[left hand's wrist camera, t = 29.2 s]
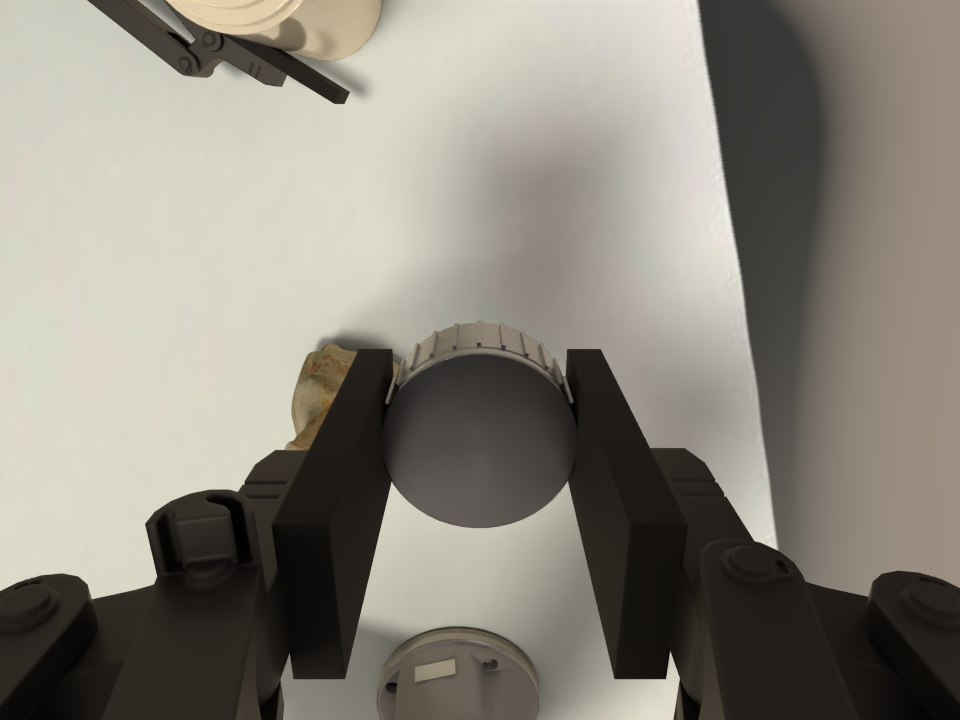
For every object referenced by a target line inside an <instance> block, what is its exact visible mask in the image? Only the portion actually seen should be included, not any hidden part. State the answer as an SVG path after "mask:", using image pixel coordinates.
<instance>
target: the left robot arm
mask: <svg viewBox="0 0 960 720" xmlns="http://www.w3.org/2000/svg"><path fill="white" fill-rule="evenodd" d="M393 377H394V371H393V352H392V349H359V350H358V352H357V354H356V356H355V358H354V360H353V362H352V364H351V366H350V368H349V370H348V372H347V374H346V376H345V378H344V380H343V382H342V384H341V386H340V388H339V390H338V392H337V394H336V396H335V398H334V400H333V402H332V404H331V406H330V408H329V410H328V412H327V414H326V416H325V418H324V420H323V422H322V424H321V426H320V428H319V430H318V432H317V434H316V436H315V438H314V440H313V442H312V444H311V446H310V448H309V450H275V451H274V452H272V453H271V454H269V455H268V456H267V457H265V458H264V459H262V460H261V461H260V462H258V463H257V464H255V466H254V467H253V469H252V471H251V472H250V474H249V475H248V477H247V479H246V480H245V485H242V487H241V488H240V490H239V491H238V492H236V491H232V490H206V491H201V492H196V493H191V494H188V495H185V496H183V497H180V498H178V499H175V500H173V501H170V502H169V503H167V504H166V505H164V506H163V507H161V508H160V509H158V510H157V511H155V512H154V514H153V515H152V516H151V517H150V519H149V520H148V521H147V522H146V524H145V525H146V530H147V534H148V538H149V543H150V547H151V551H152V556H153V560H154V564H155V568H156V573H157V578H156V581H155V584H154V585H151V586H148V587H144V588H141V589H137V590H133V591H128V592H124V593H119V594H115V595H110V596H105V597H101V598H96V599H91V595H90V592H89V588H88V585H87V584H86V583H85V582H84V581H83V580H82V579H81V578H79V577H78V576H73V575H67V574H52V575H42V576H38V577H34V578H31V579H27V580H24V581H21V582H18V583H16V584H14V585H12V586H10V587H8V588H6V589H4V590H2V591H0V720H283V712H284V701H283V694H282V688H281V681H280V679H281V676H282V673H283V670H284V667H285V664H286V662H287V659H288V656H289V653H290V658H291V665H292V671H293V678H294V679H345V677H346V673H347V668H348V664H349V660H350V656H351V651H352V647H353V643H354V639H355V634H356V630H357V626H358V622H359V617H360V613H361V609H362V605H363V600H364V596H365V592H366V588H367V583H368V579H369V575H370V571H371V567H372V562H373V558H374V554H375V550H376V545H377V541H378V537H379V533H380V528H381V524H382V520H383V516H384V511H385V507H386V503H387V499H388V494H389V490H390V486H391V482H392V481H391V479H390V477H389V475H388V473H387V471H386V468H385V466H384V455H383V440H382V421H383V417H384V414H385V410H386V407H385V406H384V404H385V401H386V398H387V395H388V391H389V388H390V385H391V382H392V379H393ZM566 379H567V382H568V385H569V388H570V391H571V395H572V398H573V401H574V404H575V405H574V406H572V407H573V411H574V414H575V417H576V421H577V425H578V432H577V449H576V462H575V466H574V468H573V471H572V473H571V475H570V477H569V479H568V483H569V488H570V492H571V496H572V500H573V505H574V509H575V513H576V517H577V521H578V526H579V530H580V534H581V538H582V543H583V547H584V551H585V555H586V560H587V564H588V568H589V572H590V577H591V581H592V585H593V589H594V594H595V598H596V602H597V606H598V611H599V615H600V619H601V623H602V628H603V632H604V636H605V640H606V645H607V649H608V653H609V657H610V662H611V666H612V670H613V674H614V679H666V676H667V669H668V662H669V655H670V651H671V654H672V657H673V660H674V662H675V665H676V668H677V671H678V674H679V677H680V681H679V688H678V694H677V701H676V707H675V713H674V720H960V588H958V587H956V586H954V585H952V584H950V583H948V582H946V581H944V580H942V579H939V578H936V577H932V576H929V575H925V574H922V573H916V572H905V571H894V572H889V573H884V574H881V575H880V576H879V577H878V578H877V579H875V580H874V581H873V583H872V586H871V590H870V593H869V597H867V596H862V595H857V594H853V593H848V592H844V591H839V590H834V589H829V588H825V587H821V586H818V585H814V584H811V583H808V582H805V580H804V578H803V575H802V574H801V572H800V571H799V569H798V568H797V566H796V565H795V563H794V562H792V561H791V560H790V559H789V558H787V557H786V556H785V555H783V554H782V553H781V552H779V551H778V550H775V549H773V548H771V547H769V546H766V545H764V544H762V543H759V542H755V541H754V540H753V538H752V537H751V535H750V533H749V532H748V530H747V529H746V527H745V526H744V524H743V522H742V521H741V519H740V518H739V516H738V515H737V513H736V511H735V510H734V508H733V507H732V505H731V503H730V502H729V500H728V499H727V497H724V492H723V491H722V489H721V488H720V486H719V485H718V483H715V478H714V477H713V475H712V473H711V472H710V470H709V469H708V467H707V466H706V464H705V463H704V462H703V461H702V460H700V459H699V458H697V457H696V456H695V455H693V454H692V453H690V452H689V451H688V450H686V449H685V448H650V447H649V445H648V443H647V441H646V439H645V437H644V435H643V433H642V431H641V429H640V427H639V425H638V423H637V421H636V419H635V417H634V415H633V413H632V411H631V409H630V407H629V405H628V403H627V401H626V399H625V397H624V395H623V393H622V391H621V389H620V387H619V385H618V383H617V381H616V379H615V377H614V375H613V373H612V371H611V369H610V367H609V365H608V363H607V361H606V359H605V357H604V355H603V353H602V351H601V349H567V363H566ZM377 709H378V714H379V719H380V720H536V718H537V714H538V710H539V696H538V686H537V679H536V675H535V672H534V669H533V667H532V665H531V664H530V662H529V660H528V659H527V658H526V657H525V655H524V654H523V653H522V652H521V651H520V650H519V649H517V648H516V647H515V646H514V645H512V644H511V643H509V642H507V641H506V640H504V639H502V638H500V637H498V636H495V635H493V634H490V633H486V632H483V631H478V630H473V629H460V628H454V629H443V630H437V631H432V632H429V633H425V634H423V635H420V636H417V637H415V638H413V639H411V640H410V641H408V642H406V643H405V644H403V645H402V646H401V647H399V648H398V649H397V650H396V651H395V652H394V653H393V654H392V655H391V656H390V658H389V659H388V661H387V662H386V664H385V666H384V668H383V670H382V673H381V677H380V682H379V688H378V694H377Z"/></svg>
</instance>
